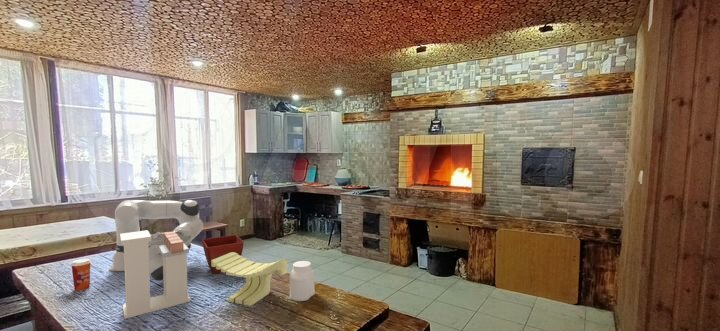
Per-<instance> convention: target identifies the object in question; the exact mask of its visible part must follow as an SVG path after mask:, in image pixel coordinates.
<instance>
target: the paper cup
mask: <svg viewBox="0 0 720 331" xmlns="http://www.w3.org/2000/svg"><path fill="white" fill-rule="evenodd" d="M91 263H92V260H91V259H90V258H80V259H76V260H73V261H71V264H70V267H71V271H72V282H73V288H74V291H76V292H80V291H85V290H88V289H89V288H90V287H91V286H90V285H91V284H90V283H91Z"/></svg>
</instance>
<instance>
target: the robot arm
mask: <svg viewBox="0 0 720 331" xmlns="http://www.w3.org/2000/svg"><path fill="white" fill-rule="evenodd" d="M200 209H201V207H200V203H199V202H198V201H197V200H195V199H187V200H184V201H180V200H178V201H177V200H141V199H140V200H139V199H138V200H137V199H135V200H134V199H132V200H131V199H128V200H123V201H121V202H120V203H119V204H118V205H117V206H116V208H115V210H114V221H115V230H116V231H115V232H116V245H115V254H113V256H112V265H111V266H110V267H109V269H108V271H110V272H115V271H116V272H125V266H124V245H122V246H121V240H120V234H123V233H131V232H138V231H141V230H140V219H145V220H146V219H147V220H161V219H163V220H164V219H176V220H177V222H176V224H177V226H176V227H175V228H174V229H173V230H172V232H173V231H174V232H175V233H176V234H177V235H178V236H179V237H180V239H181V240H182V241H183V243H184V244H185V245H186V246H187V247H188V248H189V250H190V249H191V248H192V244H191V242H192V240H193V239H195V238H196V237H197V236H198V235H199V234H200V233H201V232H202V231H203V229H204V223H203V220H201V219H200ZM166 232H167V231H166ZM166 232H155V233H154V234H150V235H151V241H149V242H148V245H149V275H150V277H152V279H153V280H155V281H163V257H162V255H161V253H160V252H159V246H162V245H165V243H164V233H166Z"/></svg>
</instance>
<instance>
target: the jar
mask: <svg viewBox="0 0 720 331" xmlns="http://www.w3.org/2000/svg"><path fill="white" fill-rule="evenodd" d="M288 277H289V298H290V299H291V300H293V301H295V302H305V301H308V300H309V299H310V298H311V297H313V296H314V295H315V294H316V293H315V292H316V291H315V272H314V270H313V268H312V262H310V261H308V260H299V261H295V262H294V263H293V264H292V270H291V271H290V274H289V276H288Z"/></svg>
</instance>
